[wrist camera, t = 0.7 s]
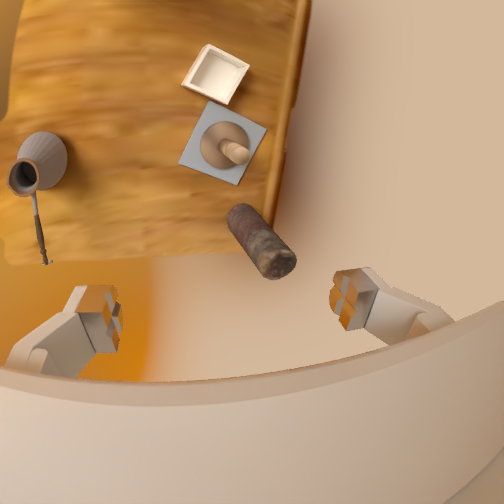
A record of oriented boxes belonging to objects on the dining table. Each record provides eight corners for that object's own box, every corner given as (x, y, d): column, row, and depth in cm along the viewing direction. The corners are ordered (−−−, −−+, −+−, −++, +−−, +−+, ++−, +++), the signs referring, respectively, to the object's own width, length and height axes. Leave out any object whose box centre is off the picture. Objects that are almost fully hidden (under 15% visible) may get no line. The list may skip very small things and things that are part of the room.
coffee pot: (17, 138, 33) (-17, 158, 22) (66, 122, 37) (42, 134, 25) (41, 232, 45) (22, 274, 34) (85, 221, 49) (74, 261, 38)
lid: (213, 113, 47) (230, 118, 40) (255, 133, 53) (277, 143, 46) (191, 157, 51) (203, 171, 43) (233, 174, 57) (251, 190, 49)
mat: (209, 100, 46) (209, 100, 46) (265, 128, 54) (266, 129, 54) (178, 162, 51) (178, 163, 51) (235, 184, 59) (236, 185, 58)
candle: (258, 222, 67) (300, 270, 52) (232, 236, 66) (267, 289, 51) (249, 197, 62) (292, 242, 47) (220, 212, 61) (255, 262, 46)
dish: (203, 46, 39) (208, 43, 36) (242, 66, 44) (250, 65, 41) (180, 85, 42) (184, 84, 39) (221, 103, 47) (227, 104, 44)
